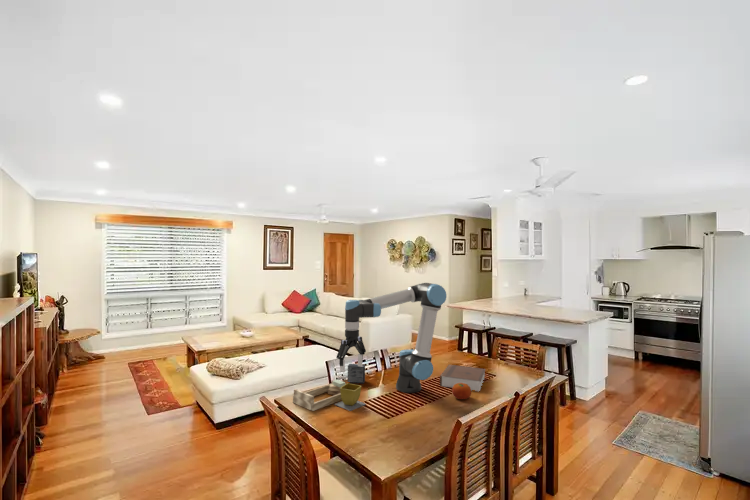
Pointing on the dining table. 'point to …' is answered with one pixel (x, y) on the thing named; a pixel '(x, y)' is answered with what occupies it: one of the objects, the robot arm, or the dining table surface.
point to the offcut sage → (338, 383)
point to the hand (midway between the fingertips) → (351, 369)
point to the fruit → (461, 391)
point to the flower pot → (350, 393)
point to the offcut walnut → (333, 392)
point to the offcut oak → (334, 388)
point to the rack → (308, 398)
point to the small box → (356, 373)
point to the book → (462, 376)
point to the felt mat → (349, 407)
